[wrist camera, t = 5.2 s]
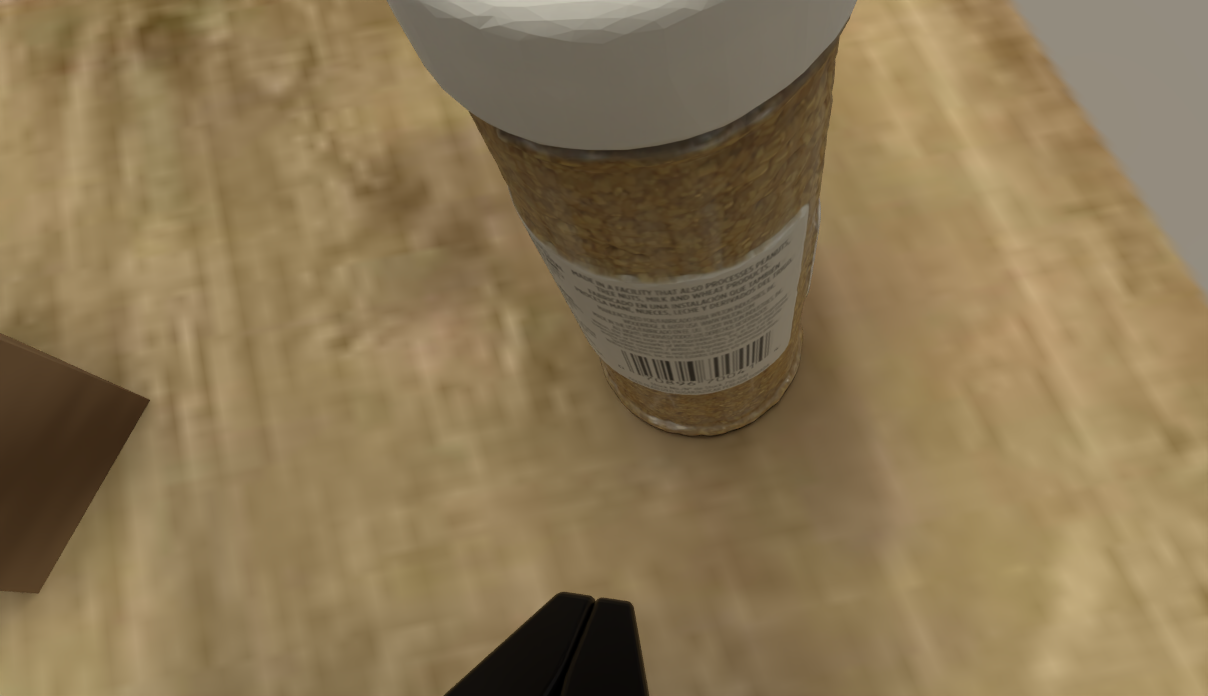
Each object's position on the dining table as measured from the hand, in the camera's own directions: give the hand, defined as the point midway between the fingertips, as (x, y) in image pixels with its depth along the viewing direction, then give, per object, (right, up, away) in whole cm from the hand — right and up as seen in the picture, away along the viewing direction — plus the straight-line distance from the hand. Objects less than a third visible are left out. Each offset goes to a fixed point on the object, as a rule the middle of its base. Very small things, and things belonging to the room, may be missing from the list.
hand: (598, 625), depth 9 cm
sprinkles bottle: (+2, +3, +10) cm, 11 cm away
